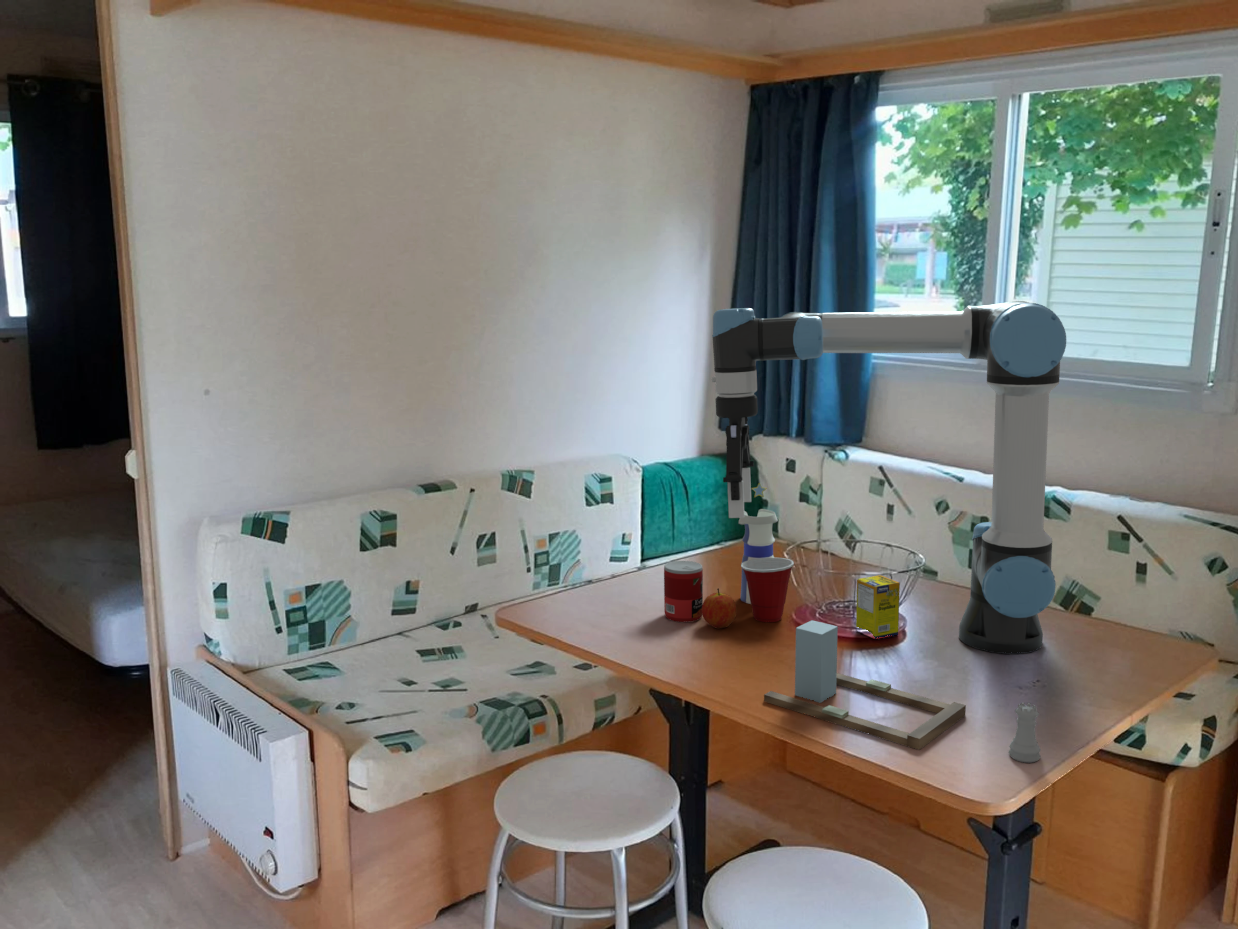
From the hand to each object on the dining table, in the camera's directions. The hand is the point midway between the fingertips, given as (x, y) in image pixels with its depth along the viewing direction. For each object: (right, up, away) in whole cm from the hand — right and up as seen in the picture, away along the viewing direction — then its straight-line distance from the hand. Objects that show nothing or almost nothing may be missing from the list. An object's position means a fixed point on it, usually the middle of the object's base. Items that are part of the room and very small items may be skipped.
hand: (740, 509), depth 196 cm
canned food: (-9, -24, +25) cm, 36 cm away
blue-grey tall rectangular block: (+11, -31, -15) cm, 36 cm away
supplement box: (+28, -25, +13) cm, 40 cm away
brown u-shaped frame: (+17, -32, -21) cm, 41 cm away
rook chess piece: (+38, -35, -39) cm, 64 cm away
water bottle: (+8, -21, +36) cm, 42 cm away
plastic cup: (+8, -24, +24) cm, 34 cm away
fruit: (-2, -25, +19) cm, 31 cm away
